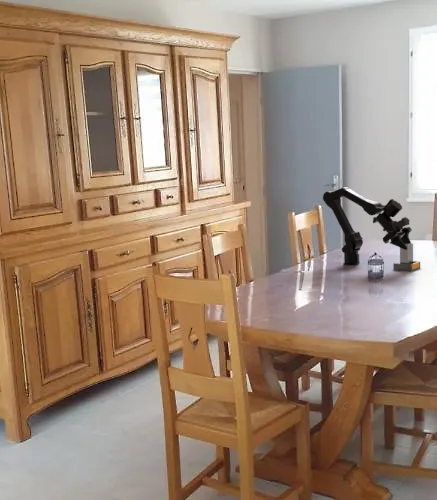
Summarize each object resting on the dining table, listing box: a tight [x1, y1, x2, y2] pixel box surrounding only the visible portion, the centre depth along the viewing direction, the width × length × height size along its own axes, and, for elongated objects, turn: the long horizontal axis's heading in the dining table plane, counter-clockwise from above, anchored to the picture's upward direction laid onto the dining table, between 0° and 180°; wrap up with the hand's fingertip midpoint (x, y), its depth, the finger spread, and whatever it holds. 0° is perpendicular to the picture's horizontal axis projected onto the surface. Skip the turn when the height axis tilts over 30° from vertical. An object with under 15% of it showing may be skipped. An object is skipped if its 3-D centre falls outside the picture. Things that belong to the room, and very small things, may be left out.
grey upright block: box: [399, 242, 414, 264], centre depth 306 cm, size 4×5×10 cm
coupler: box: [393, 260, 421, 272], centre depth 307 cm, size 9×9×3 cm
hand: (409, 248), depth 305 cm, fingers closed on grey upright block, 5 cm apart
